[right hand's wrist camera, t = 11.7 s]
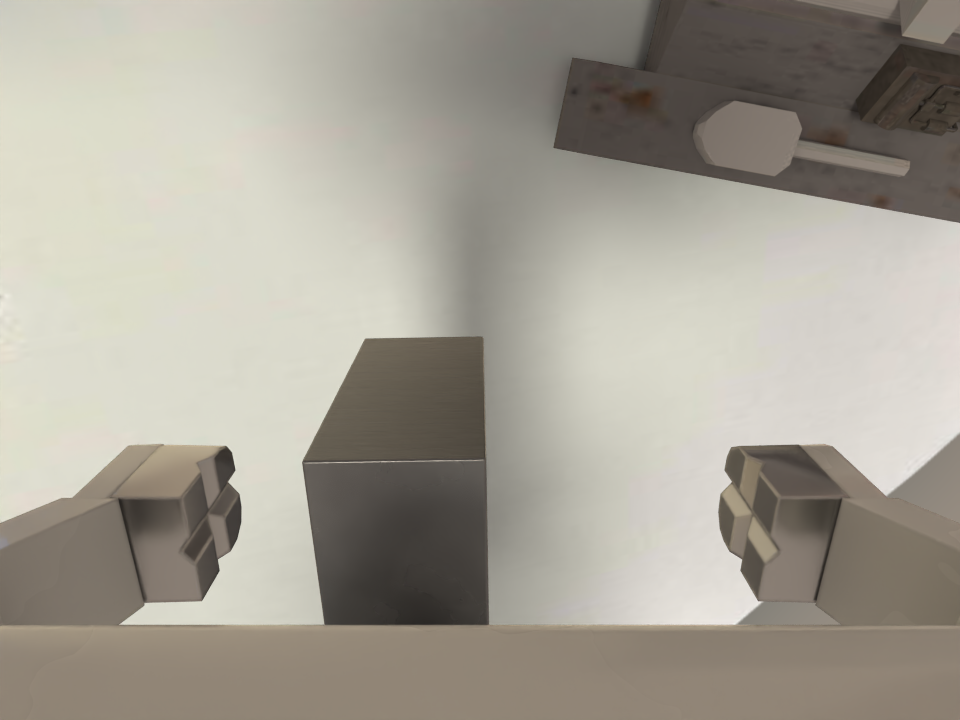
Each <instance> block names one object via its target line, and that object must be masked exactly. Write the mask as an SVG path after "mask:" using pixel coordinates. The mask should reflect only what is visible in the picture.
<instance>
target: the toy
mask: <svg viewBox="0 0 960 720" xmlns="http://www.w3.org/2000/svg"><path fill="white" fill-rule="evenodd" d="M554 148H557V149H562V150H567V151H572V152H578V153H583V154H588V155H594V156H599V157H604V158H610V159H615V160H621V161H626V162H632V163H637V164H642V165H648V166H653V167H659V168H664V169H670V170H675V171H681V172H686V173H691V174H697V175H702V176H708V177H713V178H719V179H724V180H730V181H735V182H740V183H746V184H751V185H757V186H762V187H768V188H773V189H779V190H784V191H789V192H795V193H800V194H806V195H811V196H817V197H822V198H828V199H833V200H838V201H844V202H849V203H855V204H860V205H866V206H871V207H877V208H882V209H887V210H893V211H898V212H904V213H909V214H915V215H920V216H926V217H931V218H936V219H942V220H947V221H953V222H958V223H960V0H661V3H660V7H659V11H658V15H657V19H656V23H655V27H654V31H653V35H652V39H651V43H650V48H649V52H648V56H647V60H646V64H645V68H644V71H643V70H638V69H633V68H627V67H622V66H617V65H612V64H607V63H601V62H596V61H590V60H584V59H578V58H572V63H571V67H570V72H569V77H568V82H567V86H566V91H565V96H564V101H563V105H562V110H561V115H560V119H559V124H558V129H557V134H556V138H555V143H554Z"/></svg>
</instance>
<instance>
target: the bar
mask: <svg viewBox="0 0 960 720" xmlns="http://www.w3.org/2000/svg"><path fill="white" fill-rule="evenodd" d="M302 464H303V472H304V479H305V486H306V493H307V501H308V508H309V515H310V522H311V530H312V537H313V544H314V551H315V559H316V566H317V573H318V580H319V587H320V595H321V602H322V609H323V616H324V624H325V625H489V601H488V540H487V478H486V429H485V385H484V340H483V337H431V338H374V339H365V340H364V342H363V344H362V346H361V348H360V350H359V352H358V354H357V356H356V358H355V360H354V362H353V364H352V365H351V367H350V369H349V371H348V373H347V375H346V377H345V379H344V381H343V383H342V385H341V387H340V389H339V391H338V393H337V395H336V397H335V399H334V401H333V403H332V405H331V407H330V408H329V410H328V412H327V414H326V416H325V418H324V420H323V422H322V424H321V426H320V428H319V430H318V432H317V434H316V436H315V438H314V440H313V442H312V444H311V446H310V448H309V450H308V451H307V453H306V455H305V457H304V459H303V462H302Z"/></svg>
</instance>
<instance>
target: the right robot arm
mask: <svg viewBox="0 0 960 720" xmlns="http://www.w3.org/2000/svg"><path fill="white" fill-rule="evenodd" d="M234 472H235V466H234V461H233V456H232V452H231V451H230V450H229V449H228V447H227V446H203V445H163V444H149V445H131V446H128V447H126V448H125V449H124V450H123V451H122V452H121V453H120V454H119V455H118V456H117V457H116V458H115V459H114V460H112V461H111V462H110V463H109V464H108V465H107V466H106V467H105V468H104V469H103V470H102V471H101V472H100V473H98V474H97V475H96V476H95V477H94V478H93V479H92V480H91V481H90V482H89V483H88V484H87V485H86V486H85V487H83V488H82V489H81V490H80V491H79V492H78V493H77V494H76V495H75V496H74V497H73V498H61V499H58V500H56V501H53V502H51V503H49V504H46V505H44V506H41V507H39V508H36V509H34V510H31V511H29V512H26V513H24V514H22V515H19V516H17V517H14V518H12V519H9V520H7V521H4V522H2V523H0V720H960V523H958V522H955V521H953V520H950V519H948V518H945V517H943V516H941V515H938V514H936V513H933V512H931V511H929V510H926V509H924V508H921V507H919V506H916V505H914V504H911V503H909V502H907V501H904V500H902V499H899V498H887V497H886V496H885V495H884V494H883V493H882V492H881V491H880V490H879V489H878V488H877V487H876V486H875V485H873V484H872V483H871V482H870V481H869V480H868V479H867V478H866V477H865V476H864V475H863V474H862V473H861V472H859V471H858V470H857V469H856V468H855V467H854V466H853V465H852V464H851V463H850V462H849V461H848V460H847V459H846V458H844V457H843V456H842V455H841V454H840V453H839V452H838V451H837V450H836V449H835V448H834V447H833V446H829V445H826V444H813V445H766V446H737V447H731V449H730V451H729V453H728V456H727V460H726V465H725V472H726V473H727V475H728V476H729V478H730V479H731V481H732V483H731V484H730V485H729V486H728V487H727V488H726V489H725V490H724V491H723V492H722V493H721V495H720V503H719V511H718V513H719V524H720V531H721V534H722V537H723V540H724V542H725V544H726V546H727V548H728V550H729V551H730V552H731V553H733V554H735V555H736V556H738V557H739V558H741V559H742V565H741V570H740V571H741V572H742V574H743V576H744V578H745V579H746V581H747V583H748V584H749V586H750V588H751V590H752V591H753V593H754V595H755V597H756V598H757V600H758V601H771V602H808V603H816V606H817V607H819V608H820V609H821V610H823V611H824V612H825V613H827V614H828V615H829V616H831V617H832V618H833V619H835V620H836V621H837V622H839V623H840V624H841V625H119V624H120V623H122V622H123V621H124V620H126V619H127V618H128V617H130V616H131V615H132V614H134V613H135V612H136V611H138V610H139V609H140V608H142V607H143V606H144V603H152V602H188V601H202V600H203V598H204V597H205V595H206V593H207V591H208V590H209V588H210V586H211V585H212V583H213V581H214V579H215V578H216V576H217V574H218V572H219V571H220V570H219V565H218V559H219V558H221V557H222V556H224V555H225V554H227V553H229V552H230V551H231V550H232V548H233V546H234V544H235V542H236V540H237V538H238V533H239V529H240V525H241V502H240V495H239V493H238V492H237V491H236V490H235V489H234V488H233V487H232V486H231V485H230V484H229V483H228V481H229V479H230V478H231V476H232V475H233V473H234Z"/></svg>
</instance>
